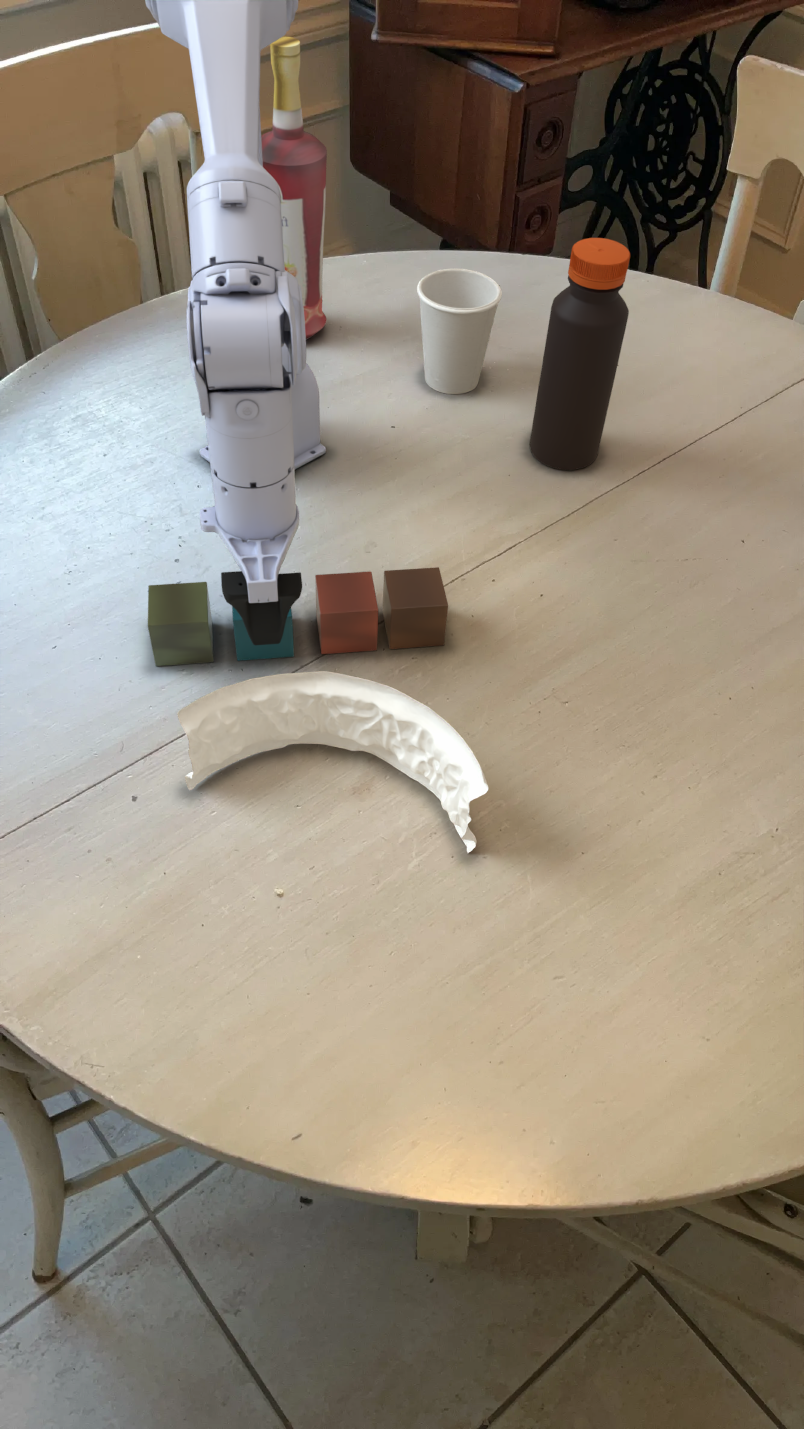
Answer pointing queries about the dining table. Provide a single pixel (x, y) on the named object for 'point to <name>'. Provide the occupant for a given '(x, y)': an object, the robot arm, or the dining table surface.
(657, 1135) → the dining table surface
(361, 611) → the block row
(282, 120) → the liquor
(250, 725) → the curved plaster moulding
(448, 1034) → the dining table surface
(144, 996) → the dining table surface
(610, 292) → the bottle
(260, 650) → the teal block
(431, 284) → the dixie cup
